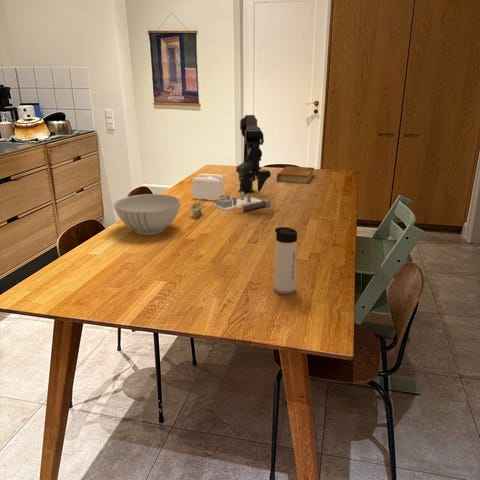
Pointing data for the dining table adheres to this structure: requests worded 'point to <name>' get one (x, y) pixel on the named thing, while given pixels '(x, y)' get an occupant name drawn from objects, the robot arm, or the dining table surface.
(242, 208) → the grey brown bar
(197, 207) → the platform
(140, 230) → the decorative bowl
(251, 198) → the board
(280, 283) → the travel mug
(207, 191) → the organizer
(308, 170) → the diary
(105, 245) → the dining table surface
